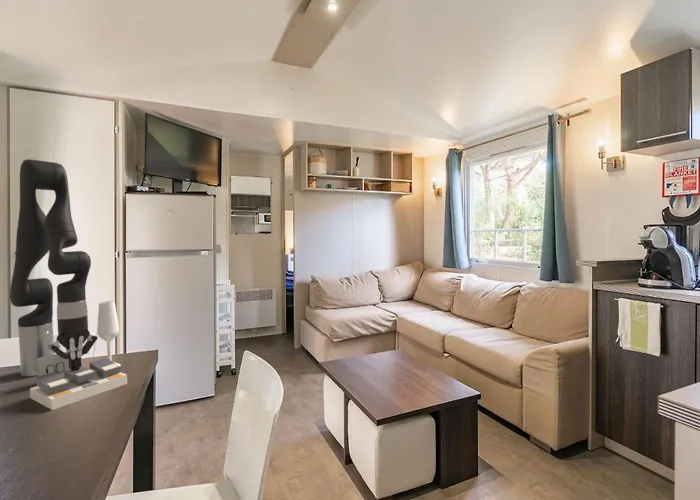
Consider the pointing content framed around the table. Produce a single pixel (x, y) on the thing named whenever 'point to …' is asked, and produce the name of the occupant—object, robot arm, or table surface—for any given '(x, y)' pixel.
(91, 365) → the block
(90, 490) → the table surface
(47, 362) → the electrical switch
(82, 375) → the rocker middle
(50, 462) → the table surface
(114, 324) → the champagne flute
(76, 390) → the switch panel
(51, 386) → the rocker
